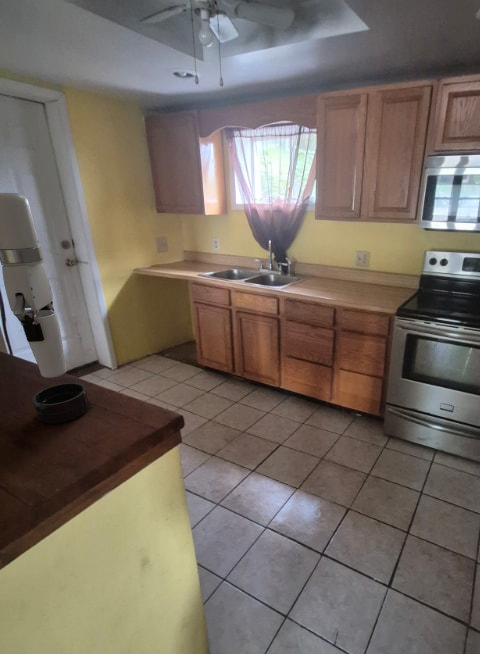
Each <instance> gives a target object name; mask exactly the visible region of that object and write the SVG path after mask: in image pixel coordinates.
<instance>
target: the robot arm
mask: <svg viewBox="0 0 480 654" xmlns="http://www.w3.org/2000/svg"><path fill="white" fill-rule="evenodd" d="M43 263H45V258H44V255H43V251H42V246H41V244H40V241H39V236H38V232H37V228H36V225H35V220H34V217H33V212H32V210H31V205H30V202H29V199H28V198H27V197H26V196H25V194H22V193H19V192H0V265H1V270H2V271H1V272H2V273H1V274H2V280H3V285H4V289H5V295H6V297H7V301H8V305H9V308H10V311H11V312H12V314H13V315H14V316H15V317H16V318H17V320H18V322H19V323H20V325H21V326H22V329H23V328H24V329H23V332H25V333H24V335H25V338H26V341H27V343H28V342H39V341H43V340H44V336H43V332H42V329H41V325H40V323H38V322H37V311H41V310H51V311H54V312H55V308H54V306H53V305H54V301H53V299H54V296H53V291H52V288H51V284H50V281H49V276H48V274H47V270H46V269H45V266H44V264H43ZM26 314H32V318H31V317H30V316H29V315H26Z"/></svg>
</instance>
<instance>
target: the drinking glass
mask: <svg viewBox="0 0 480 654" xmlns="http://www.w3.org/2000/svg"><path fill="white" fill-rule="evenodd" d="M26 315H29V316H30V317H31V318H32V314H26ZM37 322H38V323H40V325H41V329H42V332H43V336H44V340H43V341H39V342H28V341H27V343H28V345H29V347H30V351H31V352H32V354H33V357H34V359H35V362H36V365H37V366H38V370H39V374H40V376H41V377H42V378H45V379H55V378H57V377H61V376H63V375H64V374H66V372H67V371H68V367H67V364H66V358H65V353H64V346H63V339H62V333H61V327H60V323H59V320H58V316H57V314H56V311H55V310H54V311H51V310H41V311H39V310H38V311H37ZM22 330H24V328H23V327H22ZM23 332H24V331H23ZM24 334H25V332H24Z"/></svg>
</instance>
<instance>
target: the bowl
mask: <svg viewBox="0 0 480 654" xmlns="http://www.w3.org/2000/svg"><path fill="white" fill-rule="evenodd" d="M31 401H32V404H33V407H34V411H35V414H36V416H37V419H38V420H39V421H40V422H42V423H45V424H48V425H57V424H63V423H67V422H72V421H73V420H76V419H78V418H80V417H82V416H83V415H84V414H85V413H86V412H87V411H88V409H90V400H89V397H88V392H87V388H86V386H85V385H84V384H83V383H79V382H63V383H58V384H53V385H51V386H48V387H46V388H43V389H41V390H40V391H38V392H36V393H35V394H34V395H33V396H32V400H31Z"/></svg>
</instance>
